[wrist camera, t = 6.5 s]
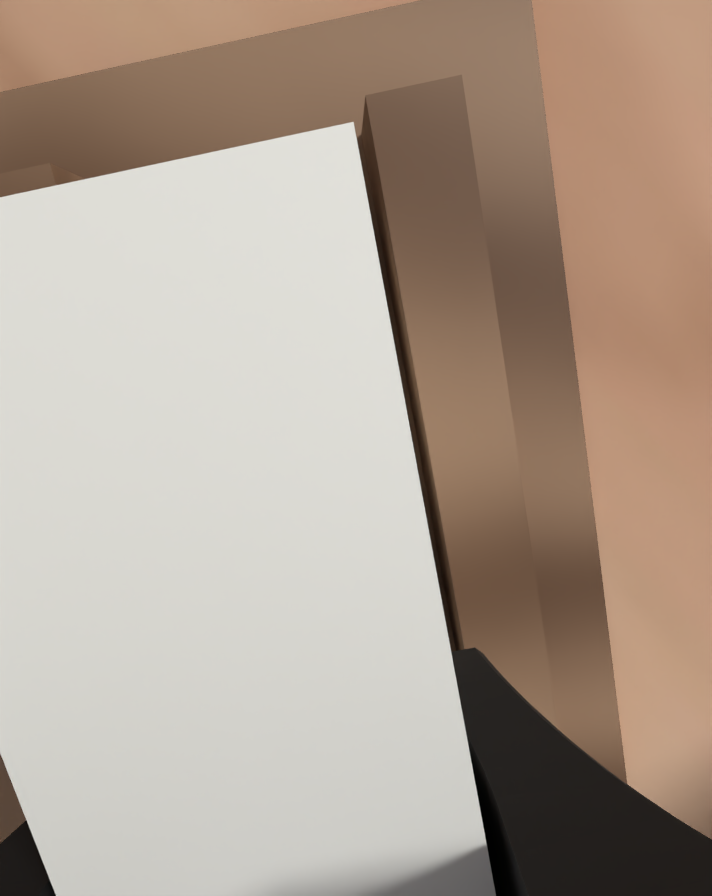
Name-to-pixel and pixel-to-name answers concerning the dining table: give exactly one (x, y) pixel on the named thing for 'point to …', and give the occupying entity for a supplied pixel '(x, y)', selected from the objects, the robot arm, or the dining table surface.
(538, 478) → the frame stand
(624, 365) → the dining table surface
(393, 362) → the white rectangular box
